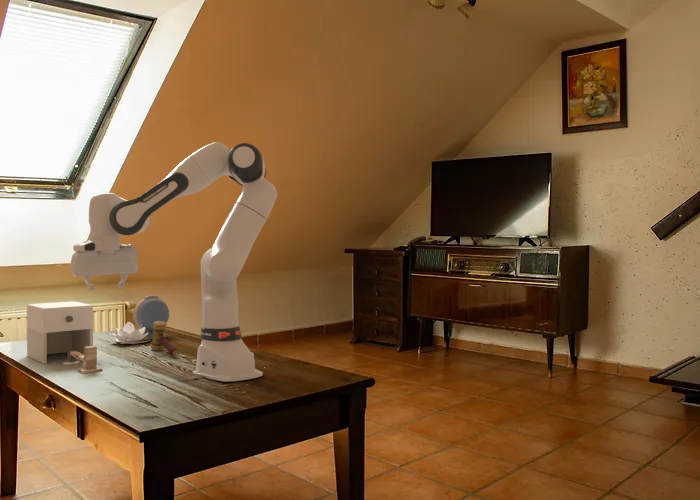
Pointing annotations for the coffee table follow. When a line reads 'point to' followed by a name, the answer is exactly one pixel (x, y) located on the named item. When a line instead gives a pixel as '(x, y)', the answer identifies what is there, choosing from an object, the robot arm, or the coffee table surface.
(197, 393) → the coffee table surface
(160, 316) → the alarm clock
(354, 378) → the coffee table surface
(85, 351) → the hook tool
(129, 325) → the lotus flower
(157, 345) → the gavel
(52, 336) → the cabinet
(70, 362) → the disc
